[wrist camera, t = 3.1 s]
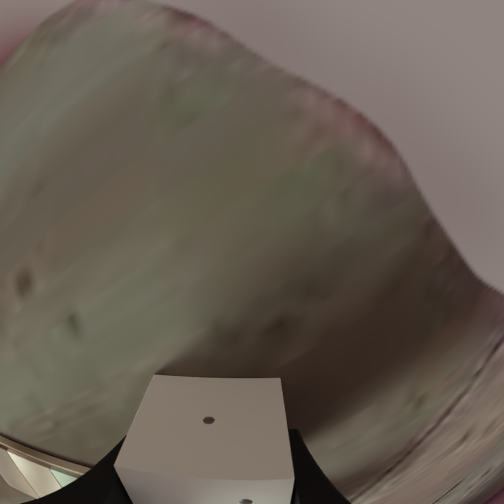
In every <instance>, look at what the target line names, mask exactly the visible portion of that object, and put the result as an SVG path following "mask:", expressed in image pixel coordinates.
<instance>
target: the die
mask: <svg viewBox="0 0 504 504" xmlns="http://www.w3.org/2000/svg"><path fill="white" fill-rule="evenodd" d="M114 467H115V469H116V472H117V474H118V476H119V478H120V480H121V482H122V484H123V485H124V487H125V489H126V491H127V493H128V495H129V497H130V499H131V500H132V502H133V504H290V501H291V496H292V490H293V484H294V479H295V478H294V471H293V464H292V456H291V449H290V442H289V435H288V428H287V421H286V414H285V407H284V400H283V393H282V386H281V379H280V378H204V377H183V376H168V375H155V374H154V375H153V377H152V380H151V382H150V384H149V386H148V388H147V391H146V393H145V395H144V397H143V400H142V402H141V404H140V406H139V408H138V411H137V413H136V415H135V417H134V420H133V422H132V424H131V427H130V429H129V431H128V433H127V436H126V438H125V440H124V443H123V445H122V447H121V450H120V452H119V454H118V457H117V459H116V461H115V464H114Z"/></svg>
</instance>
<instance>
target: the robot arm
mask: <svg viewBox="0 0 504 504" xmlns="http://www.w3.org/2000/svg"><path fill="white" fill-rule="evenodd" d="M288 435H289V442H290V449H291V456H292V464H293V471H294V478H295V479H294V484H293V490H292V496H291V501H290V504H351V503H350V502H349V501H348V500H347V499H346V498H345V497H344V496H343V495H342V494H341V493H340V492H339V491H338V490H337V489H336V488H335V487H334V485H333V484H332V483H331V482H330V481H329V479H328V478H327V477H326V476H325V474H324V473H323V472H322V470H321V469H320V467H319V466H318V464H317V463H316V462H315V460H314V459H313V457H312V455H311V454H310V452H309V450H308V449H307V447H306V445H305V443H304V441H303V439H302V437H301V435H300V432H299V430H297V429H288ZM126 436H127V435H126ZM126 436H125V437H124V438H123V439H122V440H121V441H120V442H119V443H118V444H117V445H116V446H115V447H114V448H113V449H112V450H111V451H110V452H109V453H108V454H107V455H106V456H105V457H104V458H103V459H102V460H100V461H99V462H98V463H97V464H96V465H95V466H94V467H92V468H91V469H90V470H89V471H87V472H86V473H85V474H83V475H82V476H80V477H79V478H77V479H76V480H74V481H73V482H71V483H69V484H68V485H66V486H64V487H62V488H61V489H59V490H57V491H55V492H52V493H50V494H48V495H45V496H43V497H41V498H38V499H35V500H32V501H28V502H25V503H21V504H133V502H132V500H131V499H130V497H129V495H128V493H127V491H126V489H125V487H124V485H123V484H122V482H121V480H120V478H119V476H118V474H117V472H116V469H115V467H114V464H115V461H116V459H117V457H118V454H119V452H120V450H121V447H122V445H123V443H124V440H125V438H126Z"/></svg>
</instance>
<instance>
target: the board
mask: <svg viewBox="0 0 504 504" xmlns="http://www.w3.org/2000/svg"><path fill="white" fill-rule="evenodd" d="M90 469H91V468H88V467H84V466H81V465H77V464H74V463H70V462H67V461H64V460H61V459H58V458H55V457H52V456H49V455H46V454H44V453H41V452H38V451H35V450H33V449H30V448H28V447H25V446H23V445H20V444H18V443H16V442H13V441H11V440H9V439H7V438H4V437H2V436H0V474H1V475H2V477H3V478H4V479H5V481H6V482H7V483H8V485H10V486H12V487H13V488H15V489H17V490H20V491H22V492H24V493H26V494H28V495H30V496H32V497H34V498H37V499H38V498H41V497H43V496H45V495H48V494H50V493H52V492H55V491H57V490H59V489H61V488H62V487H64V486H66V485H68V484H69V483H71V482H73V481H74V480H76V479H77V478H79V477H80V476H82V475H83V474H85V473H86V472H87V471H89V470H90Z"/></svg>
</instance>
